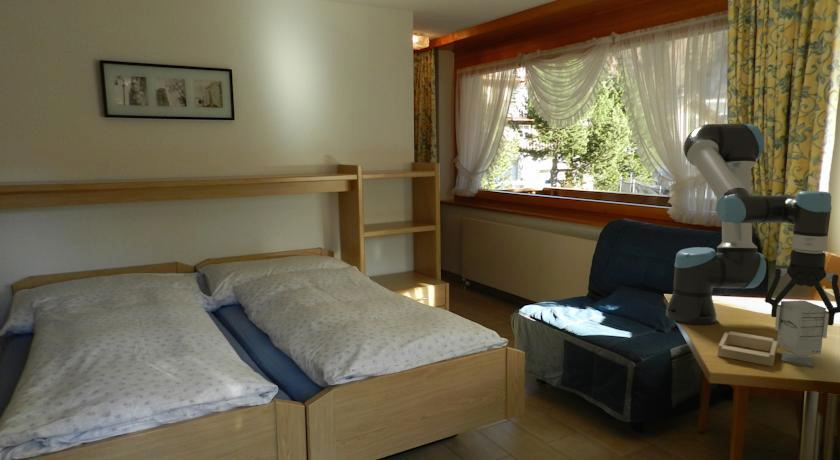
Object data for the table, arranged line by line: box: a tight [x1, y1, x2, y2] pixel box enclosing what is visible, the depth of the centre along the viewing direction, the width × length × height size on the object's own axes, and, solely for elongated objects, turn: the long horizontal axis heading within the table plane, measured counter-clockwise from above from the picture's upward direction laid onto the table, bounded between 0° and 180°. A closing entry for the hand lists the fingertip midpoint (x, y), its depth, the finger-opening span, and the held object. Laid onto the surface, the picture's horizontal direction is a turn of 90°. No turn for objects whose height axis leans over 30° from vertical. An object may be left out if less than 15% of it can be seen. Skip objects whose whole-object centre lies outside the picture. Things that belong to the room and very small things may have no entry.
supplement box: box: [776, 300, 827, 356], centre depth 150 cm, size 7×7×13 cm
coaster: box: [780, 351, 814, 368], centre depth 152 cm, size 7×7×1 cm
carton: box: [717, 331, 778, 367], centre depth 157 cm, size 13×17×3 cm
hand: (800, 332), depth 151 cm, fingers closed on supplement box, 10 cm apart
